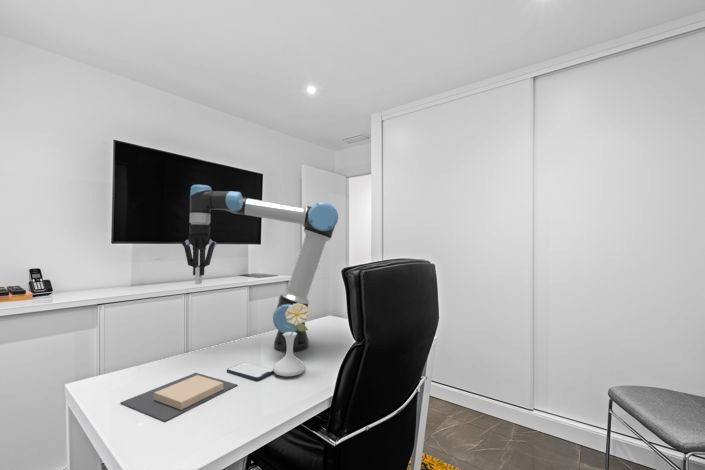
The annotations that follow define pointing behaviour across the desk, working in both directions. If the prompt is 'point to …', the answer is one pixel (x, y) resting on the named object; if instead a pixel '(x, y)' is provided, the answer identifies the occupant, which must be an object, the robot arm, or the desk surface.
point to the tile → (188, 392)
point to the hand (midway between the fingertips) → (198, 283)
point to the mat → (164, 411)
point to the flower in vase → (290, 362)
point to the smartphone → (250, 371)
